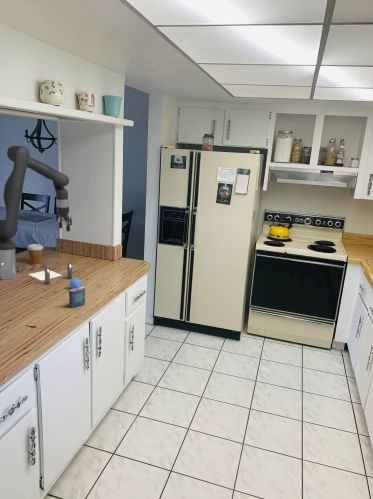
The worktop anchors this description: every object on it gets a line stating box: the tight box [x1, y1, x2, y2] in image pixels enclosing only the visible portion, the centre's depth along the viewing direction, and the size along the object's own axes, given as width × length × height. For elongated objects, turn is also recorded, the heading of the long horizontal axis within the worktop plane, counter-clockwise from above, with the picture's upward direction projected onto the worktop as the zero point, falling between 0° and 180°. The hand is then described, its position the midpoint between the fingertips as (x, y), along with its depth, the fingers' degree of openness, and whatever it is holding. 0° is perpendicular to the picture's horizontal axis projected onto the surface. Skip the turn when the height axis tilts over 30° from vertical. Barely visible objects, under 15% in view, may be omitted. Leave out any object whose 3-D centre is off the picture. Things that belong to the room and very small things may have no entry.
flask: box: [68, 285, 86, 309], centre depth 191 cm, size 9×3×11 cm, turn 144°
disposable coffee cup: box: [27, 243, 44, 265], centre depth 251 cm, size 10×10×12 cm
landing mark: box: [28, 270, 63, 281], centre depth 232 cm, size 14×14×1 cm
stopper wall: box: [17, 262, 48, 273], centre depth 240 cm, size 18×2×2 cm, turn 141°
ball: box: [69, 277, 82, 289], centre depth 214 cm, size 6×6×6 cm
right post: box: [66, 263, 73, 280], centre depth 228 cm, size 3×3×9 cm
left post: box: [44, 267, 51, 286], centre depth 217 cm, size 3×3×9 cm
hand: (64, 229), depth 253 cm, fingers open, 8 cm apart
